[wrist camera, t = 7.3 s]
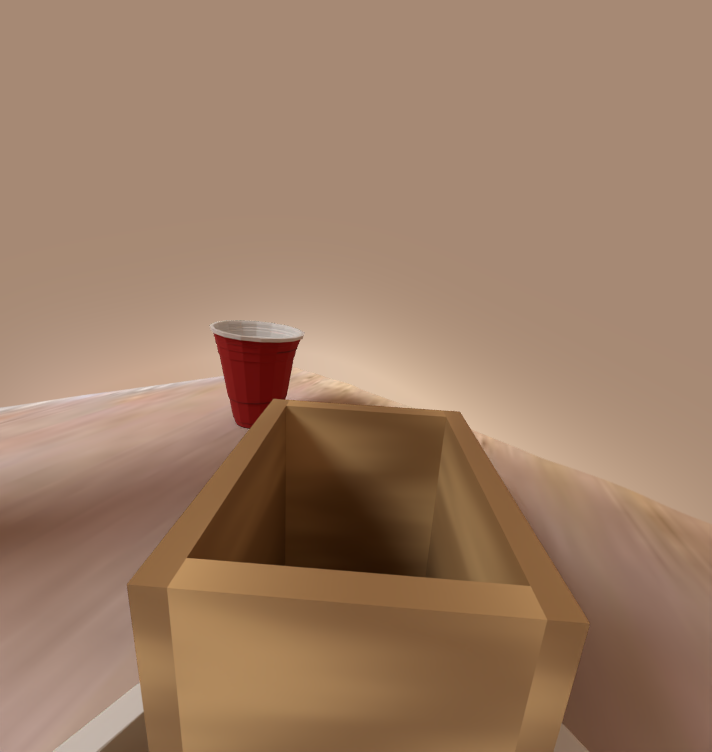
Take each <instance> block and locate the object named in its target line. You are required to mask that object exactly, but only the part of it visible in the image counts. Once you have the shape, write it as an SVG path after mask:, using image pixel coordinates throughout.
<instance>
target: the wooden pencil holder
mask: <svg viewBox="0 0 712 752" xmlns="http://www.w3.org/2000/svg"><path fill="white" fill-rule="evenodd" d="M127 589H128V597H129V604H130V612H131V619H132V627H133V634H134V642H135V650H136V657H137V665H138V672H139V680H140V687H141V695H142V702H143V710H144V717H145V725H146V733H147V740H148V748H149V752H554V748H555V745H556V741H557V738H558V734H559V731H560V727H561V724H562V720H563V717H564V713H565V710H566V706H567V703H568V699H569V696H570V692H571V689H572V685H573V682H574V678H575V675H576V671H577V668H578V664H579V661H580V657H581V654H582V650H583V647H584V643H585V640H586V636H587V633H588V629H589V626H590V623H589V621H588V619H587V618H586V616H585V614H584V613H583V611H582V610H581V608H580V606H579V605H578V603H577V601H576V600H575V598H574V596H573V595H572V593H571V592H570V590H569V588H568V587H567V585H566V583H565V582H564V580H563V579H562V577H561V575H560V574H559V572H558V570H557V569H556V567H555V566H554V564H553V562H552V561H551V559H550V557H549V556H548V554H547V553H546V551H545V549H544V548H543V546H542V544H541V543H540V541H539V540H538V538H537V536H536V535H535V533H534V531H533V530H532V528H531V527H530V525H529V523H528V522H527V520H526V518H525V517H524V515H523V514H522V512H521V510H520V509H519V507H518V505H517V504H516V502H515V501H514V499H513V497H512V496H511V494H510V492H509V491H508V489H507V488H506V486H505V484H504V483H503V481H502V479H501V478H500V476H499V475H498V473H497V471H496V470H495V468H494V466H493V465H492V463H491V462H490V460H489V458H488V457H487V455H486V453H485V452H484V450H483V449H482V447H481V445H480V444H479V442H478V440H477V439H476V437H475V435H474V434H473V432H472V431H471V429H470V427H469V426H468V424H467V423H466V421H465V419H464V418H463V416H462V414H461V413H460V412H455V411H441V410H426V409H412V408H398V407H383V406H369V405H354V404H340V403H325V402H311V401H296V400H282V399H273V400H272V401H271V403H270V404H269V405H268V407H267V408H266V409H265V410H264V412H263V413H262V414H261V415H260V417H259V418H258V419H257V420H256V422H255V423H254V424H253V425H252V427H251V428H250V429H249V431H248V432H247V433H246V434H245V436H244V437H243V438H242V439H241V441H240V442H239V443H238V444H237V446H236V447H235V448H234V450H233V451H232V452H231V453H230V455H229V456H228V457H227V458H226V460H225V461H224V462H223V463H222V465H221V466H220V467H219V469H218V470H217V471H216V472H215V474H214V475H213V476H212V477H211V479H210V480H209V481H208V482H207V484H206V485H205V486H204V488H203V489H202V490H201V491H200V493H199V494H198V495H197V496H196V498H195V499H194V500H193V501H192V503H191V504H190V505H189V506H188V508H187V509H186V510H185V512H184V513H183V514H182V515H181V517H180V518H179V519H178V520H177V522H176V523H175V524H174V525H173V527H172V528H171V529H170V531H169V532H168V533H167V534H166V536H165V537H164V538H163V539H162V541H161V542H160V543H159V544H158V546H157V547H156V548H155V550H154V551H153V552H152V553H151V555H150V556H149V557H148V558H147V560H146V561H145V562H144V563H143V565H142V566H141V567H140V569H139V570H138V571H137V572H136V574H135V575H134V576H133V577H132V579H131V580H130V581H129V582H128V584H127Z"/></svg>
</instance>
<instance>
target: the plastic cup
mask: <svg viewBox="0 0 712 752" xmlns="http://www.w3.org/2000/svg"><path fill="white" fill-rule="evenodd" d="M210 329H211V331H212V332H213V333H214V336H215V340H216V344H217V347H218V353H219V354H220V359H221V364H222V369H223V374H224V379H225V383H226V388H227V393H228V397H229V398H230V403H231V408H232V412H233V417H234V418H235V422H236V423H237V425H239V426H241V427H245V428H251V427H252V425H253V424H254V423H255V422H256V420H257V419H258V418H259V417H260V415H261V414H262V413H263V412H264V410H265V409H266V408H267V407H268V405H269V404H270V403H271V401H272V400H273V399H282V400H285V398H286V396H287V391H288V386H289V380H290V375H291V370H292V364H293V358H294V356H295V352H296V349H297V347H298V344H299V342H300V340H301V339H302V338H303V336H304V332H303V331H301V330H300V329H297V328H294V327H290V326H286V325H281V324H275V323H267V322H259V321H242V320H239V321H238V320H236V321H220V322H214V323H213V324H211V325H210Z"/></svg>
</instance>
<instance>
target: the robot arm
mask: <svg viewBox="0 0 712 752" xmlns="http://www.w3.org/2000/svg"><path fill="white" fill-rule="evenodd" d="M52 752H149V748H148V740H147V733H146V725H145V717H144V710H143V702H142V695H141V687H140V682H139V683H138V684H137V685H135V686H134V687H133V688H132V689H130V690H129V691H128V692H127V693H125V694H124V695H123V696H122V697H120V698H119V699H118V700H116V701H115V702H114V703H113V704H111V705H110V706H109V707H108V708H106V709H105V710H104V711H103V712H101V713H100V714H99V715H98V716H96V717H95V718H94V719H93V720H91V721H90V722H89V723H88V724H86V725H85V726H84V727H83V728H81V729H80V730H79V731H77V732H76V733H75V734H74V735H72V736H71V737H70V738H69V739H67V740H66V741H65V742H64V743H62V744H61V745H60V746H59V747H57V748H56V749H55V750H54V751H52ZM554 752H589V751H588V750H587V749H586V748H585V747H584V745H583V744H582V743H581V742H580V741H579V740H578V739H577V738H576V737H575V736H574V735H573V734H572V733H571V732H570V731H569V730H568V728H567V727H566V726H565V725H564V724H563V723H562V724H561V727H560V731H559V734H558V738H557V741H556V745H555V748H554Z"/></svg>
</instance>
